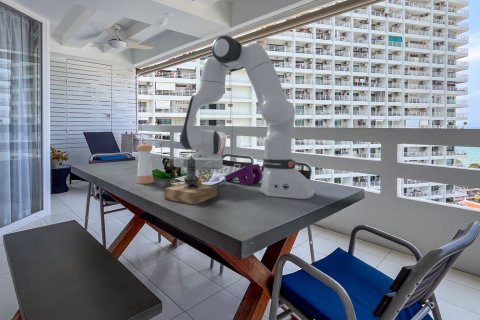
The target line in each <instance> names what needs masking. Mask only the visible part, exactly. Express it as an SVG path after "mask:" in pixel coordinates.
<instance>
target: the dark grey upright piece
mask: <svg viewBox="0 0 480 320" xmlns="http://www.w3.org/2000/svg"><path fill="white" fill-rule="evenodd" d="M190 157H191V158H189V159H188V160H187V167H186V169H187V171H186V172H187V174H186V176H185V177H183V181H184V183H186V184H188V185H186V186H185V187H184V188H187V189H195V188H198V186H197V185H195V184H197V183H198V182H199V179H200V177H199V176H197V175H196V167H195V159H193V158H192V157H193V155H191V156H190ZM198 184H199V183H198Z"/></svg>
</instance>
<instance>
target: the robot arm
mask: <svg viewBox="0 0 480 320" xmlns="http://www.w3.org/2000/svg"><path fill="white" fill-rule="evenodd" d="M211 52H212V55H213V56H209V57H207V58H205V60H204V61H203V65H202V69H201V74H200V84H199V87H198V89H197V90H196V91H195V92H193V93H192V95H191V96H190V100H189V102H188V107H187V110H186V115H185V117H184V118H185V119H184V122H183V126H182V129H181V132H180V135H179V144H181V146H182V147H183V149H185V150H199V151H196V152H195V153H194V154H192V158H193V159H195V167H196V169H195V171H198V172H206V171H210V170H221V169H222V168H223V156H222V154H221V153H219V152H220V149H221V142H222V141H221V135H220V134H219V133H218V132H217V131H216V130H212V129H203V128H202V129H201V128H195V123H196V119H197V115H198V111H199V110H200V109H201V108H202V107H205V106H208V105H211V104H214V103H216V102H218V101H220V100H221V99H222V98H223V96H224V94H225V87H226V78H227V74H228V72H229V73H233V72H236V71H240V70H244V69H245V70H244V71H245V72H246V74H247V76H248V79H249V81H250V83H251V85H252V87H253V90H254V92H255V96H256V98H257V103H258V106H259V109H260V114H261V117H262V118H263V120H264V121H265V122H266V123H267V124H268V126H267V130H266V131H267V132H266V136H265V137H264V138H265V139H264V154H263V155H264V158H263V161H262V171H263V172H262V180H261V185H260V188H259V192H260V193H262V194H264V196H267V197H277V198H287V199H298V200H306V199H310V198H312V197H314V195H315V191H314V190H312V189H310V185H309V181H308V179H307V177H306V176H305V175H303V174H302V173H301V172H300V171H298V170H297V169H296V165H297V160H294V159H292V141H293V134H294V133H293V132H294V126H295V117H296V109H295V107H294V105H293V103H291V102H290V101H289V100H288V99H287V97H286V94H285V92H284V90H283V87H282V83H281V80H280V78H279V76H278V75H279V74H278V73H277V70H276V69H275V66H274V64H273V62H272V60H271V58H270V56H269V55H268V52H267V51H266V49H264V47H263V45H262V44H260V43H259V42H258V43H257V42H252V43H249V44H248V45H245V46H244V45H243V44H242V43H241V42H240V41H238V40H236V39H235V38H233V37H231V36H228V35H220V36H218V37H217V38H216V39H214V41H213V43H212V46H211ZM189 158H191V156H178V157H175V158H173V166H174V167H175V168H187V160H188V159H189Z"/></svg>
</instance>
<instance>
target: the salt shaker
mask: <svg viewBox="0 0 480 320" xmlns="http://www.w3.org/2000/svg"><path fill="white" fill-rule="evenodd" d="M152 149H153V147H152V145H150V144H149V143H148V144H147V143H146V142H142V143H140V144H138V145H137V146H136V151H138V153H137V154H138V155H137V157H138V162H137V163H138V164H137V168H136V169H137V175H136V183H137V184H140V185H148V184H152V183H154V175H153V165H152V159H151V157H152V156H151V155H152V153H151V151H152Z"/></svg>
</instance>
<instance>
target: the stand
mask: <svg viewBox="0 0 480 320" xmlns="http://www.w3.org/2000/svg"><path fill="white" fill-rule="evenodd" d="M186 185H188V184H186V183H185V182H184V183H181V184H176V185H173V186H169V187H164V189H163V191H164V195H163V196H164V200H167V199H168V200H169V201H174V202H178V203H183V204H185V203H186V204H188V205H197V204H200V203H203V202H205V201H208V200H211V199H213V198H216V197H218V186H217V185H212V184H206V183H205V184H204V183H197V184H195V185H197V186H198V188H195V189H187V188H184V187H185V186H186Z"/></svg>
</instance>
